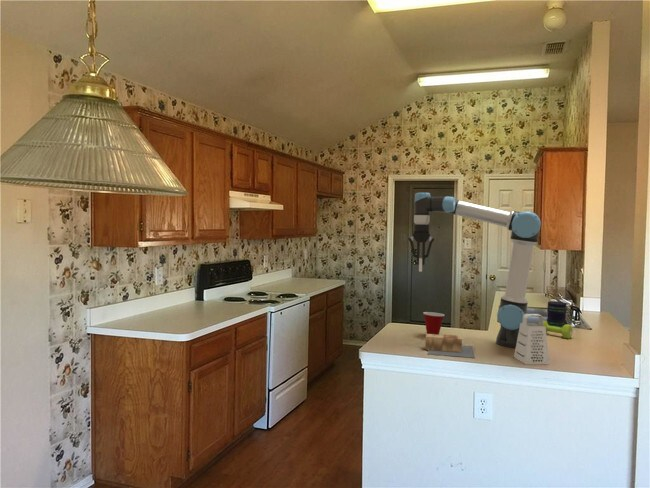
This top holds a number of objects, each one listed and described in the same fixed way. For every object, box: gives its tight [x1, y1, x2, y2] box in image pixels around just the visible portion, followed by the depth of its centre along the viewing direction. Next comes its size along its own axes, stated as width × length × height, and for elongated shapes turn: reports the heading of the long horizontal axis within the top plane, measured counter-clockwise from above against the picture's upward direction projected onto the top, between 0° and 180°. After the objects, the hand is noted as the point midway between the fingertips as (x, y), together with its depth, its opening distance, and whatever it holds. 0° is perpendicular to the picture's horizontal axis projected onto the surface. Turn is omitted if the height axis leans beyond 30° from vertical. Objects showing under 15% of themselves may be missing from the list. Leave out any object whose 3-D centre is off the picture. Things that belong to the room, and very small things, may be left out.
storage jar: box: [546, 300, 568, 328], centre depth 276 cm, size 10×10×15 cm
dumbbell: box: [543, 319, 574, 340], centre depth 259 cm, size 16×8×7 cm, turn 44°
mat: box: [427, 345, 476, 359], centre depth 225 cm, size 20×20×1 cm
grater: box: [513, 313, 550, 365], centre depth 211 cm, size 10×10×20 cm
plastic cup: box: [422, 311, 445, 335], centre depth 253 cm, size 11×11×12 cm
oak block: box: [424, 333, 463, 352], centre depth 226 cm, size 6×6×16 cm
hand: (420, 271), depth 244 cm, fingers closed
